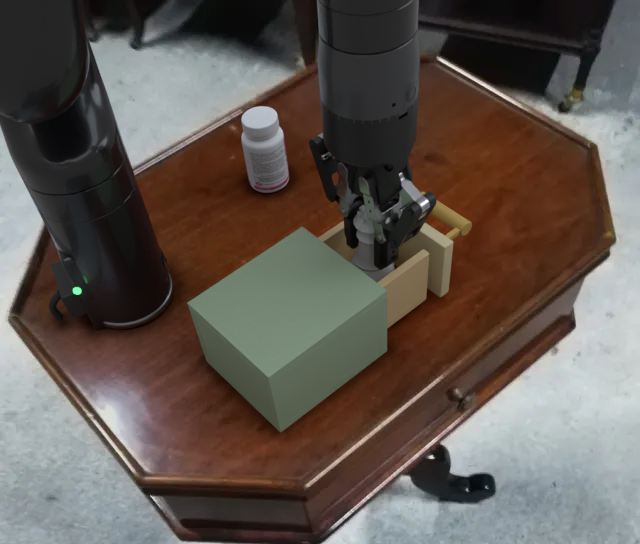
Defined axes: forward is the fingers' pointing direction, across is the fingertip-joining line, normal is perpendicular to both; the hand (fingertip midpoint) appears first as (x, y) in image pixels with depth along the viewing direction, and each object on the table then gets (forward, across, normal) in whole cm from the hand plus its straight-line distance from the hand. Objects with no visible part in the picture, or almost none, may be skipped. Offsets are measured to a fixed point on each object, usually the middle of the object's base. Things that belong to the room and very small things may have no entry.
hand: (371, 252), depth 71 cm
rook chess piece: (+3, 0, 0) cm, 3 cm away
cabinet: (+7, 0, -10) cm, 12 cm away
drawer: (+6, 0, +2) cm, 6 cm away
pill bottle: (+7, -22, +4) cm, 24 cm away
